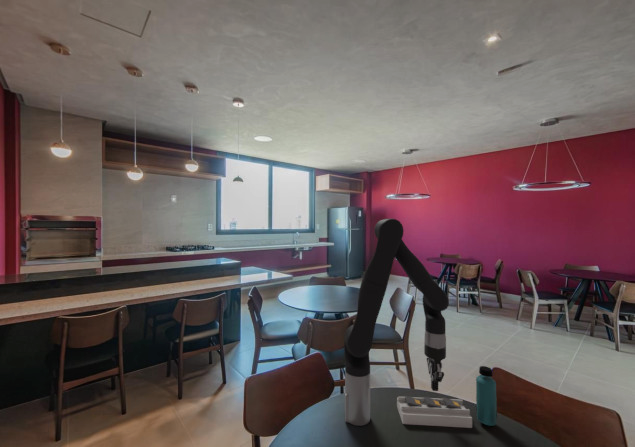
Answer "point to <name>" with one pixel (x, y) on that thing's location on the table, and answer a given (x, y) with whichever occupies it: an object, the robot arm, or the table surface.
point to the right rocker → (451, 403)
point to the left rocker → (413, 401)
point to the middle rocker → (432, 402)
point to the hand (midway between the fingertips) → (434, 389)
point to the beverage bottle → (486, 397)
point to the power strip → (434, 414)
